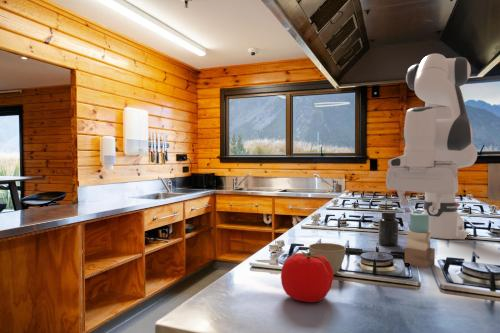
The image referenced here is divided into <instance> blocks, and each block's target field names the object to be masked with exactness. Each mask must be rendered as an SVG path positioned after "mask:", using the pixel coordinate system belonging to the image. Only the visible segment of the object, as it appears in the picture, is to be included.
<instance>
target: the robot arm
mask: <svg viewBox="0 0 500 333" xmlns="http://www.w3.org/2000/svg"><path fill="white" fill-rule="evenodd" d="M471 68H472V67H471V63H470V62H469V60H468V59H467V58H466V57H463V56H455V57H453V58H452V57H450V58H446V57H445V55H443V54H442V53H441V54H440V53H431V54H427V55H426V56H425V57H423V58H422V60H421V61H420V63H414V64H413V65H410V66H409V68H408V69H407V73H406V76H405V82H406V83H407V86H408V88H409V89H410V90H411V91H414V93H415V95H416V97H418V99H419V100H421V101H423V102H424V106H417V107H411V108H409V109H407V110H406V113H405V118H404V127H403V128H402V131H403V132H402V141H403V143H404V144H405V146H404V150H403V155H400V156H397V157H395V158H391V159H388V161H387V165H388V168H387V170H386V178H385V186H386V188H387V190H389V191H396V192H397V196H398V197H399V200H400V205H401V206H409V199H407V198H406V197H405V194H406V192H416V193H424V201H423V212H421V213H420V214H427V215H429V231H430V238H435V239H442V240H443V239H445V240H466V239H467V238H466V236H467V235H468V234H469V233H470V234H471V232H470V231H469V230H465V221H464V219H463V218H462V216H461V215H460V214H459V213H458V208H459V207H460V202H457V201H456V193H457V192H458V191H459V180H458V174H459V169H462V168H469V167H471V166H473V165H474V163H475V162H476V161H477V158H478V151H477V148H476V146H475V145H474V144H473V143H472V141H473V138H474V131H473V127H472V125H471V122H470V120H469V117H468V113H467V107H466V104H465V99H464V97H463V93H462V90H461V88H460V87H461V86H463V85H465V84H466V83H467V82H468V80H469V78H470V76H471V73H472V70H471ZM465 238H466V239H465Z"/></svg>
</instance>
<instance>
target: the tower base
mask: <svg viewBox="0 0 500 333" xmlns="http://www.w3.org/2000/svg"><path fill="white" fill-rule="evenodd" d="M435 250H436V248H433V247H430V248H429V249H427V250H426V251H423V250H417V249H411V248H407V246H406V247H404V264H405V263H409V264H410V265H409V266H413V267H417V268H421V269H428V268H430V267H433V266H435V265H434V264H435V258H436V257H435V253H436V252H435Z"/></svg>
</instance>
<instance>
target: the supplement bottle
mask: <svg viewBox="0 0 500 333" xmlns="http://www.w3.org/2000/svg"><path fill="white" fill-rule="evenodd" d="M396 213H397V212H394V211H381V218H380V219H379V220H378V243H379V245H381V246H385V247H397V246H399V225H400V224H399V221H398V220H397V219H396V218H397V216H396V215H397V214H396Z"/></svg>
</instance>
